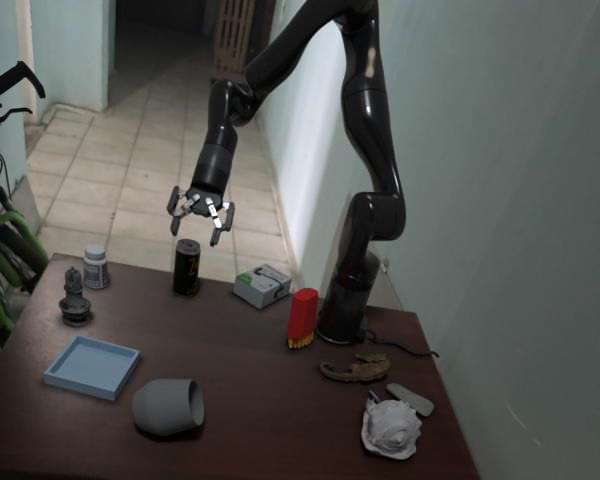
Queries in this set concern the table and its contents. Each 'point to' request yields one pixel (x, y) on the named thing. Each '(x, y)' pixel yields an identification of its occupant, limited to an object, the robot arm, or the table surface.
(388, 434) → the seashell
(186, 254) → the beer can
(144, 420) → the cup
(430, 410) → the decorative stone
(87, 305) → the grey chess piece
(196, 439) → the table surface
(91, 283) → the pill bottle
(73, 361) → the tray
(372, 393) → the pen
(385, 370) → the seahorse
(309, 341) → the french fries
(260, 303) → the ink box
